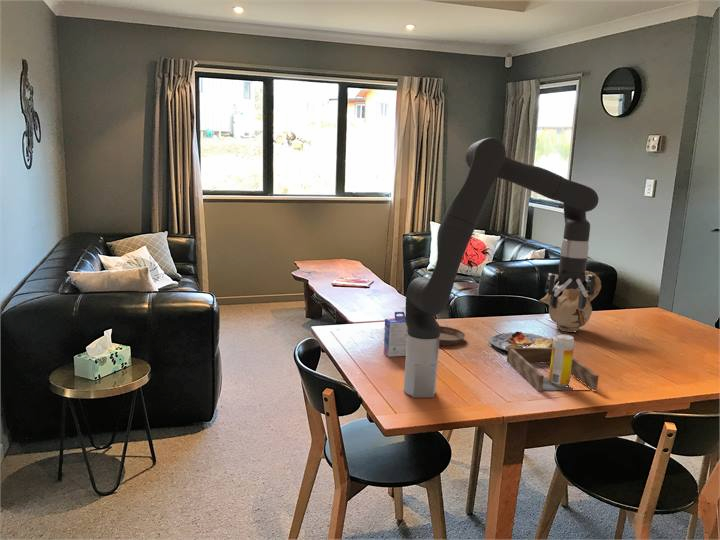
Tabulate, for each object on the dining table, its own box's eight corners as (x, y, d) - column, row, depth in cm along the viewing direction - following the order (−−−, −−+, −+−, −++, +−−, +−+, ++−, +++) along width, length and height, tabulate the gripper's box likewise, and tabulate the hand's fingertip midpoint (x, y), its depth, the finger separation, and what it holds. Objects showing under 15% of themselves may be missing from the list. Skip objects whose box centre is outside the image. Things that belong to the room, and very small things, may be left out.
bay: (596, 391, 175) (598, 375, 174) (538, 391, 172) (540, 375, 171) (558, 361, 199) (560, 347, 198) (506, 361, 197) (508, 347, 196)
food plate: (514, 333, 229) (515, 324, 228) (570, 349, 213) (571, 340, 212) (478, 347, 212) (478, 338, 211) (536, 366, 196) (537, 356, 195)
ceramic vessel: (560, 321, 250) (567, 264, 245) (602, 332, 236) (610, 272, 231) (535, 327, 239) (542, 268, 234) (578, 340, 224) (586, 277, 219)
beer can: (571, 382, 180) (577, 336, 177) (566, 388, 175) (572, 341, 172) (551, 377, 183) (556, 332, 180) (545, 383, 178) (551, 336, 175)
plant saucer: (450, 331, 228) (451, 324, 228) (473, 346, 212) (474, 338, 211) (409, 334, 223) (409, 326, 222) (429, 349, 206) (429, 341, 206)
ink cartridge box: (408, 350, 203) (411, 310, 201) (415, 355, 198) (418, 314, 195) (382, 352, 200) (384, 311, 197) (388, 357, 195) (390, 315, 192)
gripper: (556, 256, 167) (550, 311, 170) (603, 257, 168) (596, 312, 172) (545, 252, 174) (539, 304, 177) (590, 253, 176) (583, 305, 179)
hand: (567, 308), depth 174 cm, fingers open, 8 cm apart
